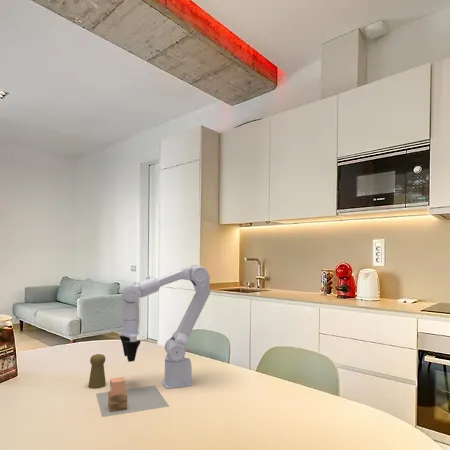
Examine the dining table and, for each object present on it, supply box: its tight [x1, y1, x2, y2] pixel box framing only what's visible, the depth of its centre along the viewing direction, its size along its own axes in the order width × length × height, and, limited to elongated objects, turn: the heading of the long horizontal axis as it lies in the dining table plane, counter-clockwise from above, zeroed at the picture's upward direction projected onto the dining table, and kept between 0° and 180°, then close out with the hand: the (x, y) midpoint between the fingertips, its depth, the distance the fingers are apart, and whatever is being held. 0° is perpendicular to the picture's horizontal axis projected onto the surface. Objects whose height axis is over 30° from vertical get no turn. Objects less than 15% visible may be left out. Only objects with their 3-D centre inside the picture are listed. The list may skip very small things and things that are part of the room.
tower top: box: [107, 390, 127, 405], centre depth 118 cm, size 5×5×2 cm
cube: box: [109, 376, 126, 396], centre depth 118 cm, size 4×4×4 cm
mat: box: [95, 385, 170, 418], centre depth 124 cm, size 20×20×1 cm
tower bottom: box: [108, 400, 127, 412], centre depth 118 cm, size 5×5×2 cm
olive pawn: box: [88, 353, 107, 390], centre depth 137 cm, size 6×6×11 cm
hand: (129, 358), depth 135 cm, fingers open, 7 cm apart
